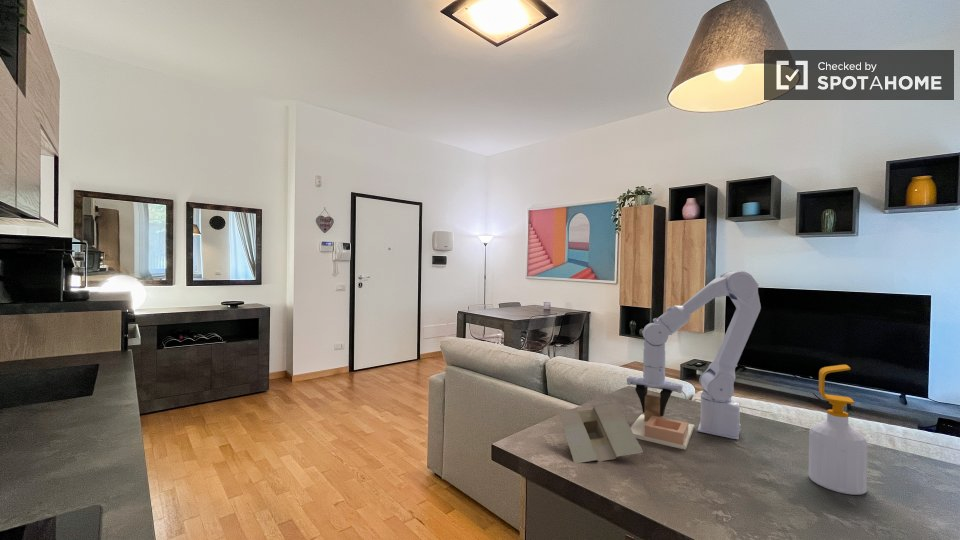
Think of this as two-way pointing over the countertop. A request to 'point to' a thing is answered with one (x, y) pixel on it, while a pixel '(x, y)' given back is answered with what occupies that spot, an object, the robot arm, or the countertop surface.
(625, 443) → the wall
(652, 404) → the walnut block
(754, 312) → the robot arm
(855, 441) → the soap bottle
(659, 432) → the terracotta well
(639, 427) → the cream board
